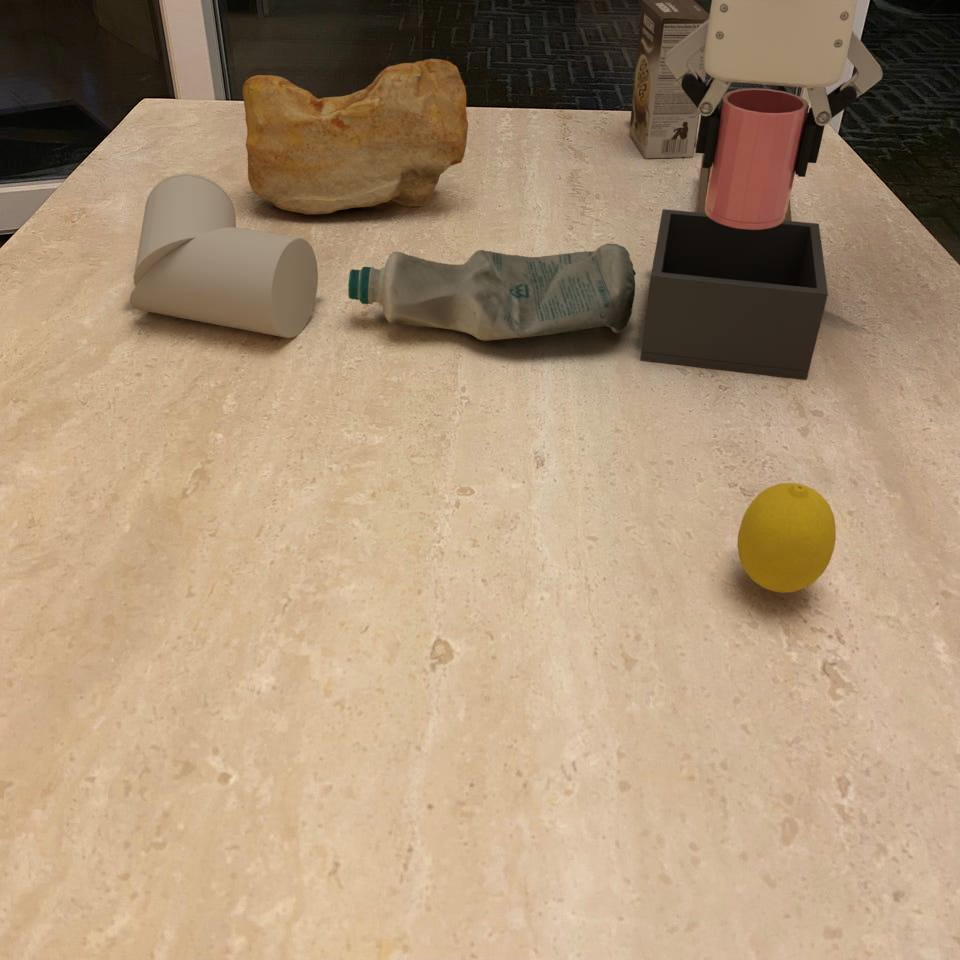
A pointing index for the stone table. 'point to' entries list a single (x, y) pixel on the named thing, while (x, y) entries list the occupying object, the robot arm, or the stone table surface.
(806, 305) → the dark gray open box
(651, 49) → the coffee box
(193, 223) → the l-shaped cylinder
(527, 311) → the detergent
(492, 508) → the stone table surface
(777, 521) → the lemon
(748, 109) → the pink cup
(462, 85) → the tan saddle-shaped rock
